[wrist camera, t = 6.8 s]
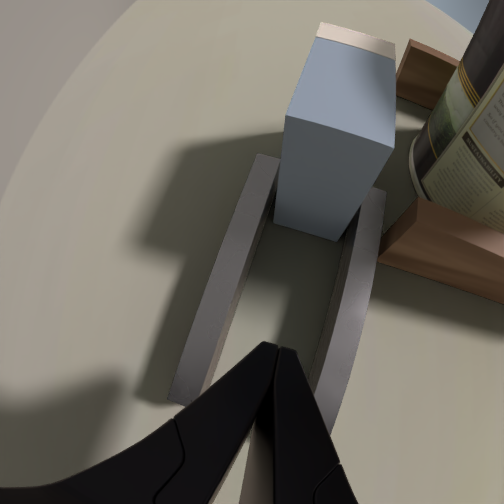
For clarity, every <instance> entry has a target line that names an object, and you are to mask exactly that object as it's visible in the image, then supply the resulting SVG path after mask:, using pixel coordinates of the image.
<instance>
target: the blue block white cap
mask: <svg viewBox="0 0 504 504" xmlns="http://www.w3.org/2000/svg"><path fill="white" fill-rule="evenodd" d="M395 61H396V56H395V44H394V43H391V42H388V41H385V40H382V39H379V38H376V37H373V36H370V35H367V34H364V33H360V32H357V31H354V30H350V29H346V28H343V27H339V26H335V25H331V24H327V23H323V22H321V24H320V26H319V29H318V31H317V34H316V37H315V40H314V43H313V45H312V48H311V50H310V53H309V55H308V58H307V60H306V63H305V66H304V68H303V71H302V73H301V76H300V78H299V81H298V84H297V86H296V89H295V91H294V94H293V97H292V99H291V102H290V104H289V107H288V110H287V112H286V115H285V124H284V134H283V143H282V152H281V161H280V169H279V178H278V187H277V195H276V204H275V212H274V220H273V223H275V224H278V225H282V226H285V227H289V228H292V229H295V230H299V231H302V232H305V233H309V234H312V235H315V236H319V237H322V238H325V239H329V240H332V241H335V242H337V241H338V240H339V238H340V236H341V235H342V233H343V232H344V230H345V229H346V227H347V226H348V224H349V222H350V221H351V219H352V218H353V216H354V215H355V213H356V211H357V210H358V208H359V207H360V205H361V203H362V202H363V200H364V198H365V197H366V195H367V194H368V192H369V190H370V189H371V187H372V185H373V184H374V182H375V180H376V179H377V177H378V175H379V174H380V172H381V170H382V169H383V167H384V165H385V163H386V162H387V160H388V158H389V157H390V155H391V153H392V151H393V150H394V145H395V121H396V68H395Z"/></svg>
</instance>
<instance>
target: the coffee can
mask: <svg viewBox="0 0 504 504" xmlns="http://www.w3.org/2000/svg"><path fill="white" fill-rule="evenodd" d="M409 170H410V175H411V179H412V182H413V185H414V188H415V190H416V193H417V195H418V197H421V198H423V199H426V200H428V201H431V202H433V203H436V204H438V205H441V206H443V207H445V208H448V209H450V210H452V211H455V212H457V213H459V214H462V215H464V216H466V217H468V218H471V219H473V220H475V221H477V222H479V223H482V224H484V225H486V226H488V227H490V228H492V229H494V230H496V231H498V232H500V233H502V234H504V0H489V3H488V5H487V7H486V10H485V12H484V14H483V16H482V18H481V20H480V23H479V25H478V27H477V29H476V31H475V33H474V35H473V37H472V39H471V41H470V43H469V45H468V47H467V49H466V51H465V53H464V55H463V57H462V59H461V61H460V63H459V65H458V66H457V68H456V70H455V72H454V74H453V76H452V77H451V79H450V81H449V83H448V84H447V86H446V88H445V90H444V92H443V94H442V96H441V97H440V99H439V101H438V102H437V104H436V106H435V108H434V109H433V111H432V113H431V114H430V116H429V118H428V119H427V121H426V123H425V124H424V126H423V128H422V130H421V131H420V133H419V134H418V135H417V136H416V137H415V139H414V140H413V142H412V144H411V147H410V151H409Z"/></svg>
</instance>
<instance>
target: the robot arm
mask: <svg viewBox="0 0 504 504" xmlns="http://www.w3.org/2000/svg"><path fill="white" fill-rule="evenodd" d="M253 423H254V425H253ZM252 425H253V429H252V434H251V440H250V445H249V451H248V457H247V462H246V468H245V473H244V479H243V484H242V490H241V495H240V500H239V504H358V502H357V500H356V498H355V496H354V493H353V491H352V489H351V486H350V484H349V482H348V480H347V477H346V475H345V472H344V469H343V467H342V465H341V464H339V463H340V460H339V457H338V455H337V452H336V450H335V447H334V445H333V442H332V439H331V437H330V434H329V432H328V429H327V427H326V424H325V422H324V419H323V417H322V414H321V412H320V409H319V407H318V404H317V402H316V399H315V397H314V394H313V392H312V389H311V387H310V384H309V382H308V379H307V377H306V374H305V372H304V369H303V367H302V364H301V362H300V359H299V357H298V354H297V352H296V351H295V350H293V349H290V348H286V347H283V346H281V347H278V345H276V344H272V343H269V342H266V341H263V342H261V343H260V344H259V345H258V346H256V347H255V348H254V349H253V350H252V351H251V352H250V353H249V354H248V355H246V356H245V357H244V358H243V359H242V360H241V361H240V362H238V363H237V364H236V365H235V366H234V367H233V368H232V369H230V370H229V371H228V372H227V373H226V374H225V375H223V376H222V377H221V378H220V379H219V380H218V381H216V382H215V383H214V384H213V385H212V386H210V387H209V388H208V389H207V390H206V391H205V392H203V393H202V394H201V395H200V396H198V397H197V398H196V399H195V400H194V401H192V402H191V403H190V404H189V405H187V406H186V407H185V408H184V409H182V410H181V411H180V412H179V413H177V414H176V415H175V416H174V418H173V419H172V418H171V419H170V420H168V421H167V422H166V423H164V424H163V425H162V426H161V427H159V428H158V429H157V430H155V431H154V432H152V433H151V434H149V435H148V436H147V437H145V438H144V439H142V440H141V441H139V442H137V443H136V444H134V445H132V446H131V447H129V448H127V449H125V450H124V451H122V452H120V453H118V454H116V455H114V456H112V457H110V458H108V459H106V460H104V461H102V462H100V463H98V464H96V465H94V466H92V467H90V468H88V469H86V470H84V471H82V472H79V473H77V474H75V475H73V476H71V477H68V478H66V479H63V480H60V481H57V482H54V483H51V484H46V485H41V486H33V487H0V504H212V503H213V502H214V500H215V498H216V496H217V494H218V492H219V491H220V489H221V487H222V485H223V483H224V481H225V479H226V478H227V476H228V474H229V472H230V470H231V468H232V466H233V464H234V462H235V460H236V458H237V456H238V454H239V452H240V450H241V448H242V446H243V444H244V442H245V440H246V438H247V436H248V434H249V432H250V430H251V428H252ZM338 464H339V465H338Z"/></svg>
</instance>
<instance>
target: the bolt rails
mask: <svg viewBox="0 0 504 504" xmlns="http://www.w3.org/2000/svg"><path fill="white" fill-rule="evenodd" d="M280 161H281V159H279V158H275V157H272V156H268V155H264V154H260V153H257V155H256V158H255V160H254V163H253V165H252V168H251V170H250V173H249V175H248V178H247V180H246V183H245V185H244V188H243V190H242V193H241V196H240V198H239V201H238V203H237V206H236V208H235V211H234V214H233V216H232V219H231V221H230V224H229V227H228V229H227V232H226V234H225V237H224V240H223V242H222V245H221V248H220V250H219V253H218V256H217V258H216V261H215V264H214V266H213V269H212V272H211V275H210V277H209V280H208V283H207V285H206V288H205V291H204V294H203V296H202V299H201V302H200V305H199V308H198V310H197V313H196V316H195V319H194V322H193V324H192V327H191V330H190V333H189V336H188V339H187V341H186V344H185V347H184V350H183V353H182V356H181V359H180V362H179V365H178V368H177V371H176V373H175V376H174V379H173V382H172V385H171V388H170V391H169V394H168V397H167V399H168V400H170V401H173V402H175V403H177V404H180V405H183V406H185V407H186V406H187V405H189V404H190V403H191V402H192V401H194V400H195V399H196V398H197V397H198V396H200V395H201V394H202V393H203V392H205V391H206V390H207V389H208V388H209V387H210V384H211V381H212V378H213V375H214V373H215V370H216V367H217V364H218V361H219V358H220V355H221V352H222V349H223V346H224V343H225V340H226V337H227V334H228V331H229V328H230V326H231V323H232V320H233V317H234V314H235V311H236V308H237V305H238V302H239V299H240V296H241V293H242V290H243V287H244V284H245V281H246V278H247V275H248V272H249V269H250V266H251V264H252V261H253V258H254V255H255V252H256V249H257V246H258V243H259V240H260V237H261V234H262V231H263V228H264V225H265V222H266V219H267V216H268V213H269V210H270V207H271V204H272V201H273V198H274V195H275V192H276V189H277V186H278V178H279V169H280ZM386 195H387V192H386V191H383V190H381V189H378V188H375V187H371V189H370V190H369V192H368V194H367V195H366V197H365V198H364V200H363V202H362V203H361V205H360V207H359V208H358V210H357V211H356V213H355V215H354V216H353V218H352V219H351V221H350V222H349V224H348V227H347V232H346V237H345V242H344V246H343V251H342V255H341V260H340V264H339V268H338V272H337V277H336V281H335V285H334V289H333V293H332V297H331V301H330V304H329V308H328V312H327V316H326V319H325V323H324V327H323V330H322V334H321V337H320V341H319V344H318V348H317V351H316V354H315V358H314V361H313V364H312V368H311V371H310V374H309V377H308V382H309V384H310V387H311V389H312V392H313V394H314V397H315V399H316V402H317V404H318V407H319V409H320V412H321V414H322V417H323V419H324V422H325V424H326V427H327V429H328V432H329V434H330V435H331V432H332V429H333V426H334V423H335V420H336V418H337V415H338V412H339V409H340V406H341V403H342V400H343V396H344V393H345V390H346V387H347V384H348V380H349V377H350V373H351V370H352V366H353V363H354V359H355V356H356V352H357V348H358V345H359V341H360V337H361V333H362V329H363V325H364V320H365V316H366V312H367V307H368V303H369V298H370V294H371V289H372V284H373V279H374V273H375V268H376V263H377V257H378V251H379V245H380V239H381V232H382V226H383V218H384V211H385V203H386Z"/></svg>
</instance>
